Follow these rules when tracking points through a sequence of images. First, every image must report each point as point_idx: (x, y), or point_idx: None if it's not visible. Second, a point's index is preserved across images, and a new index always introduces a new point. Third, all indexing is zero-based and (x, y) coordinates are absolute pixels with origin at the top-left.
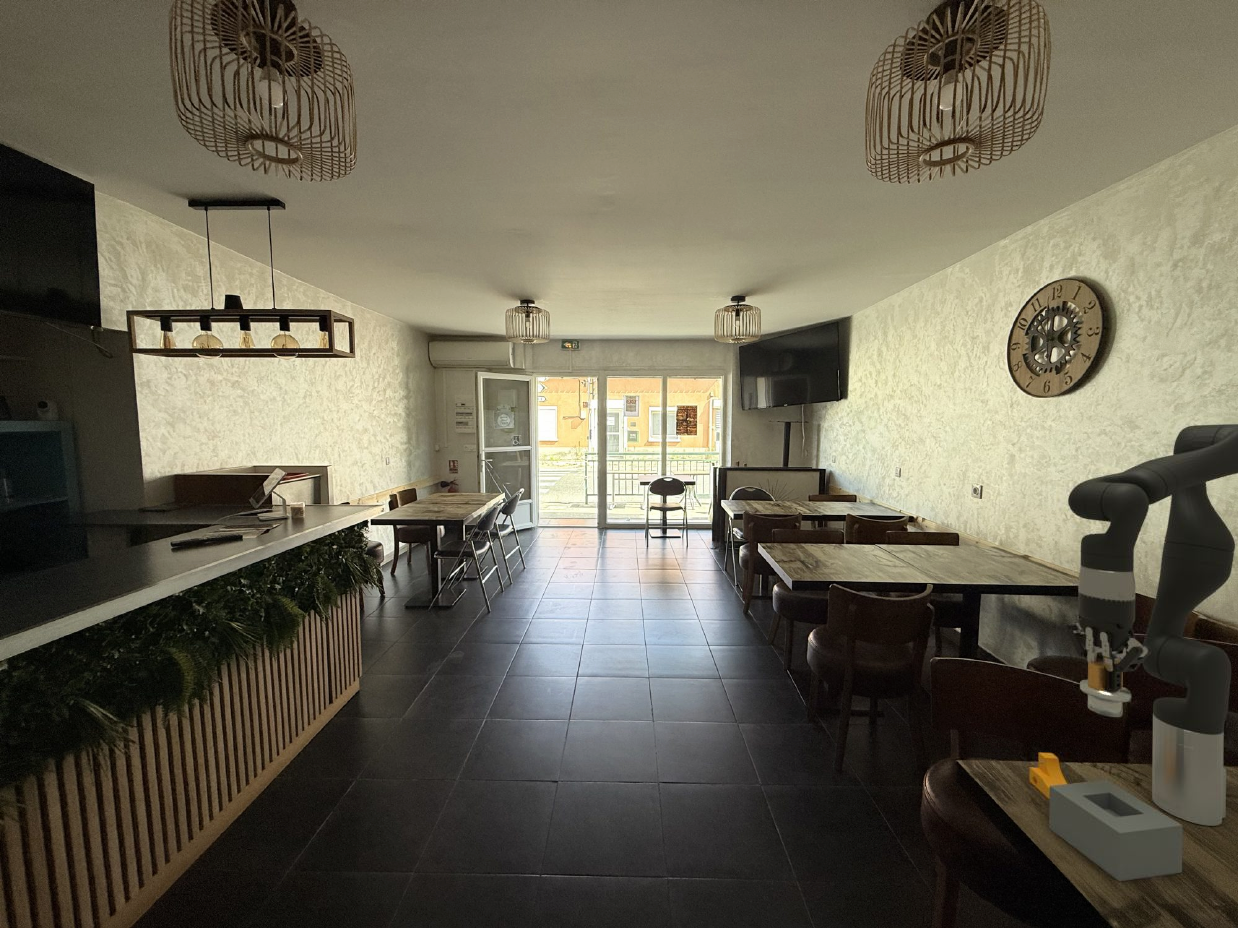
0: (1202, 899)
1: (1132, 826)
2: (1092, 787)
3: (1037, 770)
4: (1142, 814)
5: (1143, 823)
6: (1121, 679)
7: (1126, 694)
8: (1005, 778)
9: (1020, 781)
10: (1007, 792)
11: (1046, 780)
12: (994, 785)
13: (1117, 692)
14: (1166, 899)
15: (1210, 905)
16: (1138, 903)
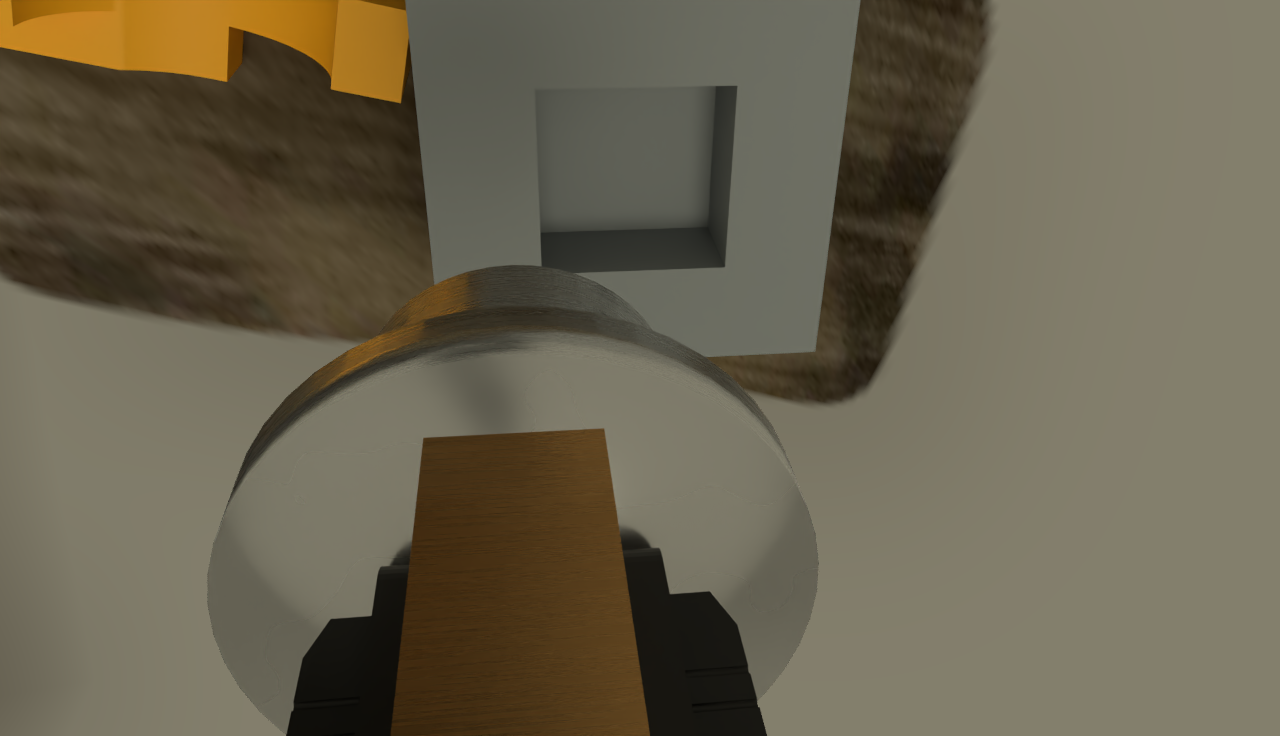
0: (915, 7)
1: (795, 249)
2: (474, 142)
3: (26, 22)
4: (739, 100)
5: (795, 173)
6: (764, 733)
7: (771, 529)
8: (20, 149)
9: (43, 83)
10: (169, 238)
11: (136, 48)
12: (106, 259)
13: (689, 581)
14: (871, 157)
15: (943, 10)
16: (853, 276)
